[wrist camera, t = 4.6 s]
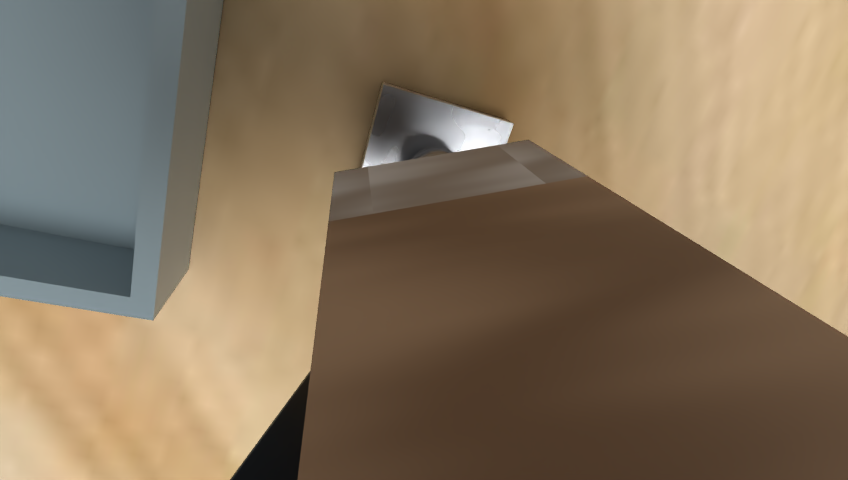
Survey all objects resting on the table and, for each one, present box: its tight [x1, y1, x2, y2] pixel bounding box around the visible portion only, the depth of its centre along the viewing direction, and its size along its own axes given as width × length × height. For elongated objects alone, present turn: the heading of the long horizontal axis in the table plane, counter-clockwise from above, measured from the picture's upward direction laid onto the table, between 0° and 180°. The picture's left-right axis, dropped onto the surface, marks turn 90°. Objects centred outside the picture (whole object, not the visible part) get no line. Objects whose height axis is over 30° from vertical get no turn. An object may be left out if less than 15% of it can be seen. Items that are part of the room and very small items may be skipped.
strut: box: [298, 140, 848, 480], centre depth 7 cm, size 4×4×10 cm
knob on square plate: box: [360, 82, 513, 168], centre depth 19 cm, size 5×5×3 cm
